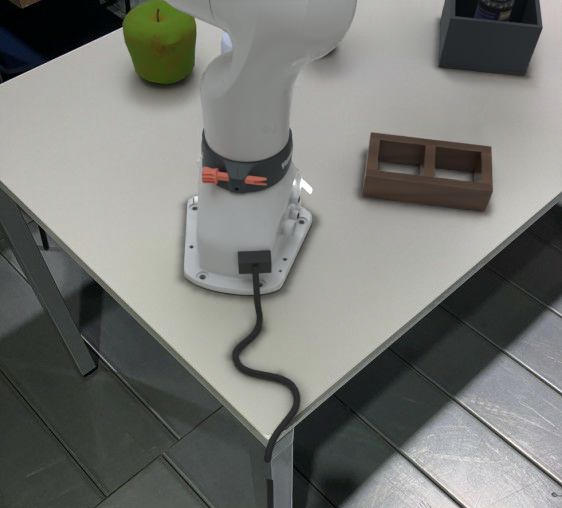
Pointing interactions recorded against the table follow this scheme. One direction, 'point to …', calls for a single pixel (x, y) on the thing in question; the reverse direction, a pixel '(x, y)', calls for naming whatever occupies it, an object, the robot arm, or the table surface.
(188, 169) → the table surface
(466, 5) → the open square box
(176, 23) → the apple
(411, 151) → the brown wooden caddy
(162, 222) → the table surface
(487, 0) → the pill bottle
